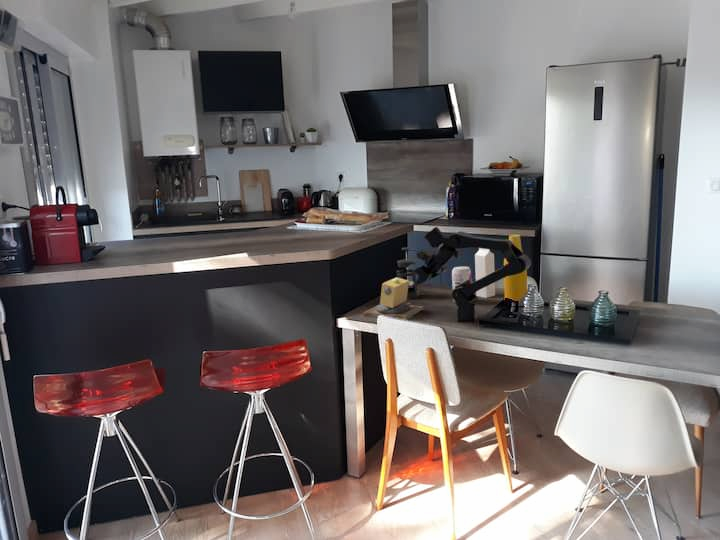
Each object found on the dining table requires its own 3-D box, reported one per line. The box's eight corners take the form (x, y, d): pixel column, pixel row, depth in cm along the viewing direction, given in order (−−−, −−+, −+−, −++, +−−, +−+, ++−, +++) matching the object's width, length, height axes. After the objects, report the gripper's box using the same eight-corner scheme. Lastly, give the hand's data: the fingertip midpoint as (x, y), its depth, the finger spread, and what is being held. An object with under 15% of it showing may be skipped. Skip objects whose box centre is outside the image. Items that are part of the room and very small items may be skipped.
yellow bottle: (516, 308, 232) (515, 238, 226) (500, 304, 239) (498, 236, 234) (532, 304, 236) (531, 234, 231) (515, 300, 244) (513, 233, 238)
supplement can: (472, 298, 252) (470, 265, 249) (472, 303, 244) (471, 269, 241) (453, 299, 253) (451, 266, 250) (453, 304, 245) (451, 270, 243)
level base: (423, 309, 240) (423, 300, 239) (405, 320, 227) (405, 310, 226) (382, 306, 251) (382, 297, 250) (363, 315, 238) (362, 306, 237)
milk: (486, 298, 251) (484, 249, 247) (476, 296, 256) (474, 247, 252) (495, 295, 255) (494, 246, 250) (485, 293, 260) (483, 245, 255)
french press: (424, 295, 263) (421, 246, 259) (410, 300, 257) (407, 250, 253) (405, 292, 272) (402, 245, 268) (391, 297, 266) (388, 248, 261)
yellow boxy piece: (406, 300, 242) (409, 278, 239) (391, 308, 231) (394, 285, 228) (394, 296, 245) (397, 274, 242) (379, 304, 234) (381, 281, 231)
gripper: (438, 238, 231) (415, 264, 239) (417, 246, 216) (394, 273, 224) (457, 258, 228) (433, 283, 237) (437, 267, 213) (413, 294, 221)
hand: (418, 283), depth 230 cm, fingers open, 4 cm apart
